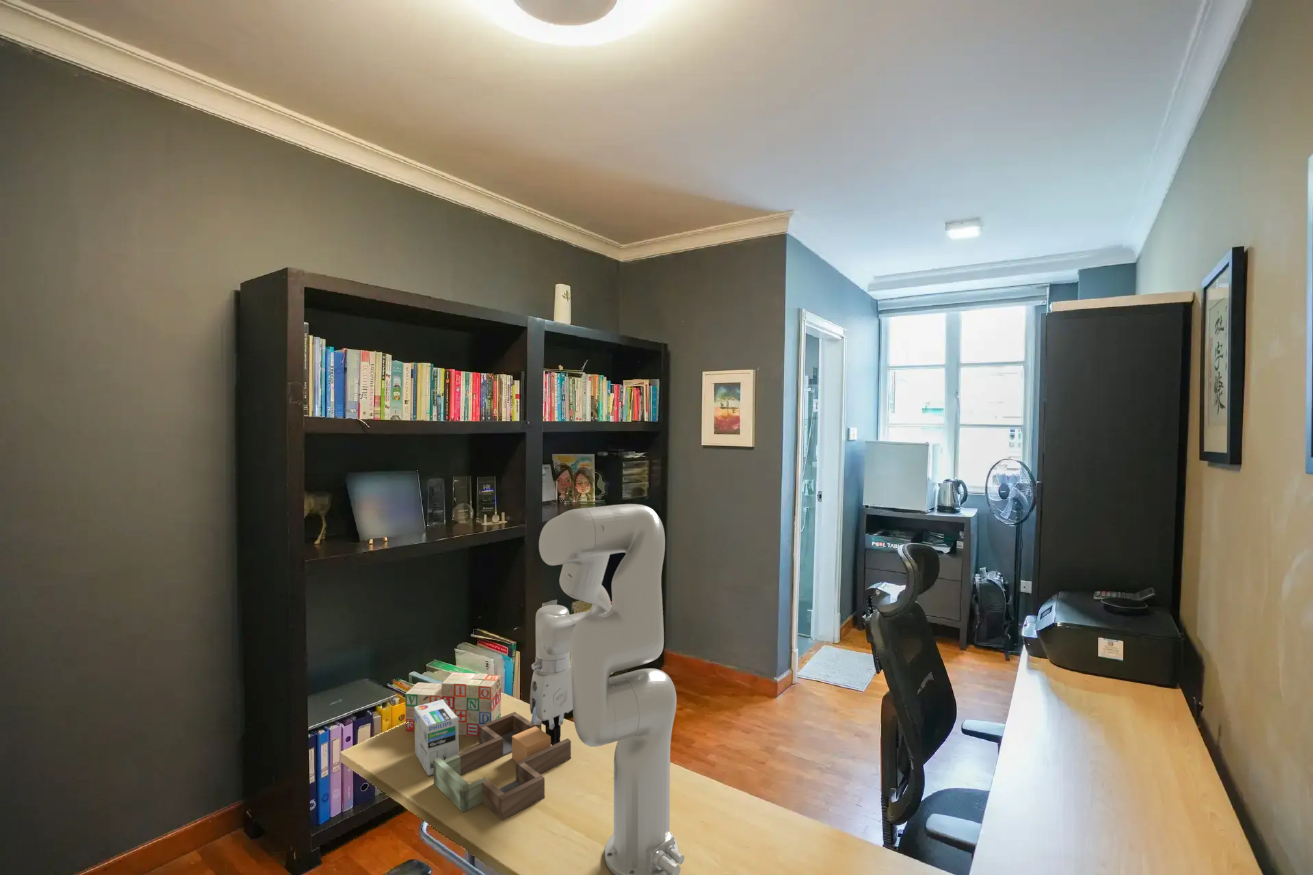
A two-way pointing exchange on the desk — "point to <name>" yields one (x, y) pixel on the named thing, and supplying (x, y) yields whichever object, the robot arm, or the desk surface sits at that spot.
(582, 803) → the desk surface
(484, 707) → the stack of blocks
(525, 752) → the block
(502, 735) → the box
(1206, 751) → the desk surface
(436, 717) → the light bulb box
